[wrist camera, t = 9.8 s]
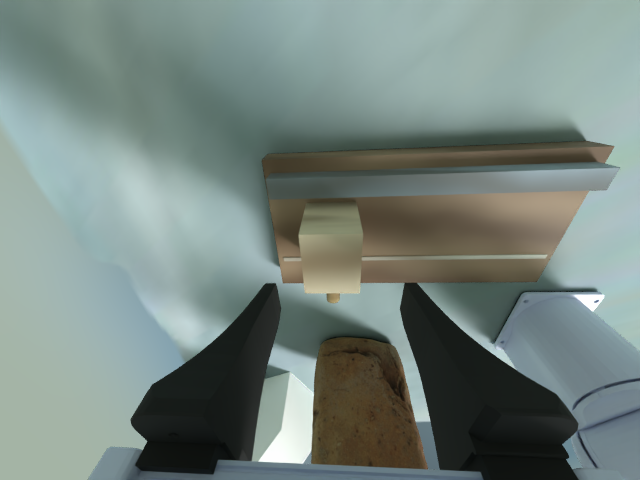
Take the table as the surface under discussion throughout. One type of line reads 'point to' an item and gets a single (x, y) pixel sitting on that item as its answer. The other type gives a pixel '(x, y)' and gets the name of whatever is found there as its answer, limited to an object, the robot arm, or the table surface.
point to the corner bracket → (284, 421)
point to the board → (441, 206)
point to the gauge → (331, 248)
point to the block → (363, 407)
